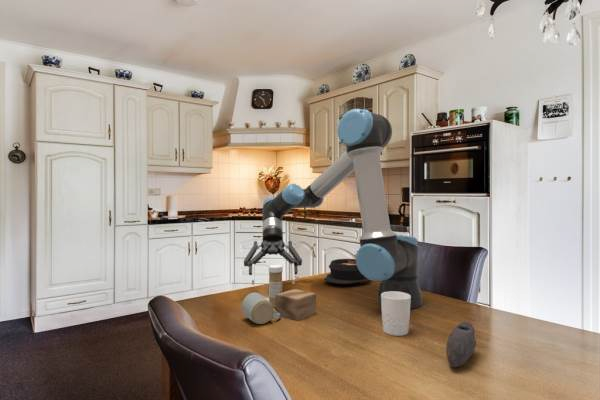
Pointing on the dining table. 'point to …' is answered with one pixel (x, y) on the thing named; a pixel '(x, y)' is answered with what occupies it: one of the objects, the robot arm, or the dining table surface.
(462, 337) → the perforated stone tool
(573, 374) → the dining table surface
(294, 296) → the tan block
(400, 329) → the white cup
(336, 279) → the black fedora hat
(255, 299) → the ceramic mug
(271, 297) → the sprinkles bottle
